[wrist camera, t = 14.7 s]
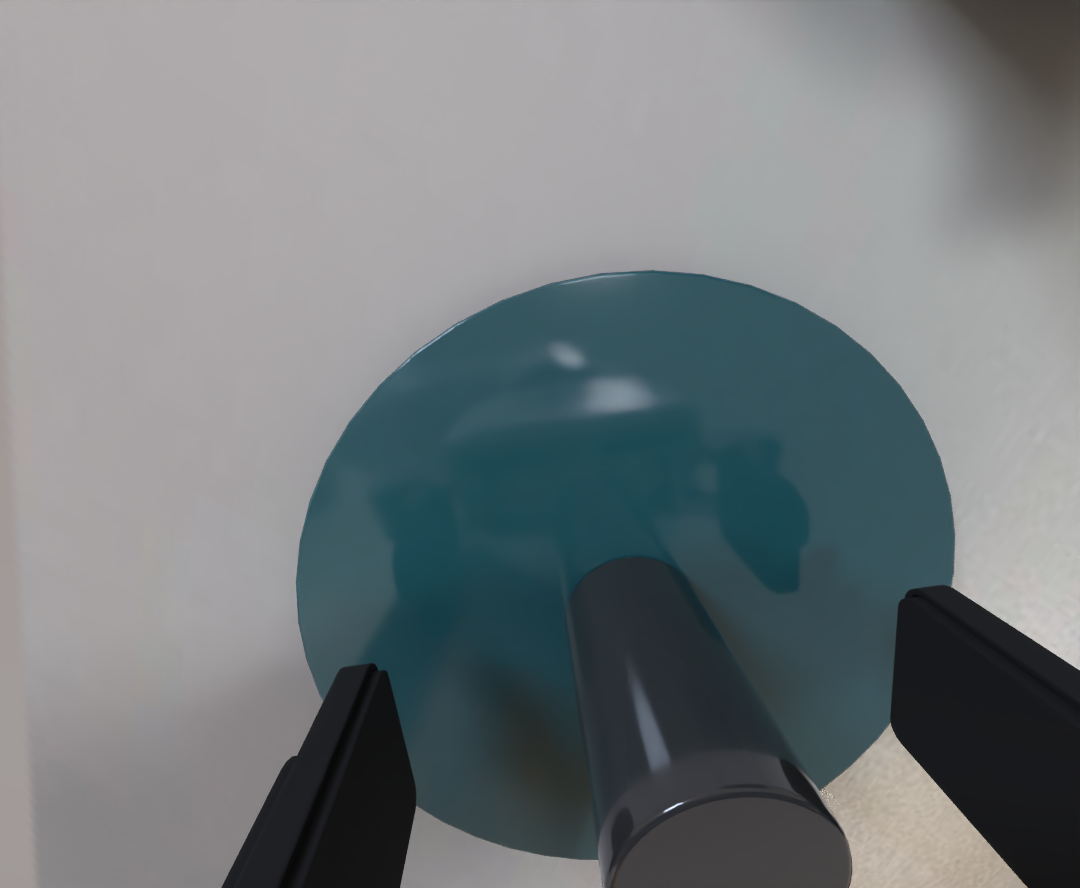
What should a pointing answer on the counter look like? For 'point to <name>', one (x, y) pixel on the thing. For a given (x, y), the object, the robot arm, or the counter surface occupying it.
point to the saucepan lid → (632, 573)
